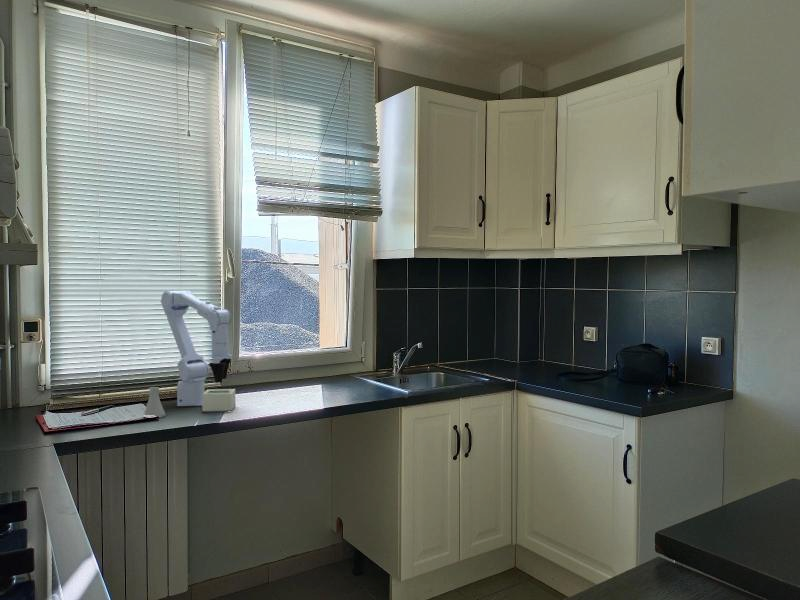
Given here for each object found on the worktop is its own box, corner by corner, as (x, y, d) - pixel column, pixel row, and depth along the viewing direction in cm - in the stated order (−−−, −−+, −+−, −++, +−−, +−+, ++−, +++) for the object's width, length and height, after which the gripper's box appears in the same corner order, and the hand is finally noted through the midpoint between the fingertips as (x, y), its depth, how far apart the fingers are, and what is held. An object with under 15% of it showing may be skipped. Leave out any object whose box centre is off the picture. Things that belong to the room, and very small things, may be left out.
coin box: (202, 412, 211) (202, 394, 211) (207, 407, 220) (207, 389, 219) (231, 411, 212) (231, 393, 212) (235, 406, 221) (235, 389, 220)
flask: (159, 413, 210) (158, 385, 210) (169, 416, 206) (169, 387, 205) (138, 417, 205) (138, 388, 204) (149, 420, 200) (149, 390, 200)
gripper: (227, 345, 209) (228, 383, 209) (235, 340, 223) (235, 376, 224) (206, 345, 208) (207, 384, 209) (215, 341, 222) (216, 377, 223)
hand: (220, 380), depth 216 cm, fingers open, 7 cm apart
